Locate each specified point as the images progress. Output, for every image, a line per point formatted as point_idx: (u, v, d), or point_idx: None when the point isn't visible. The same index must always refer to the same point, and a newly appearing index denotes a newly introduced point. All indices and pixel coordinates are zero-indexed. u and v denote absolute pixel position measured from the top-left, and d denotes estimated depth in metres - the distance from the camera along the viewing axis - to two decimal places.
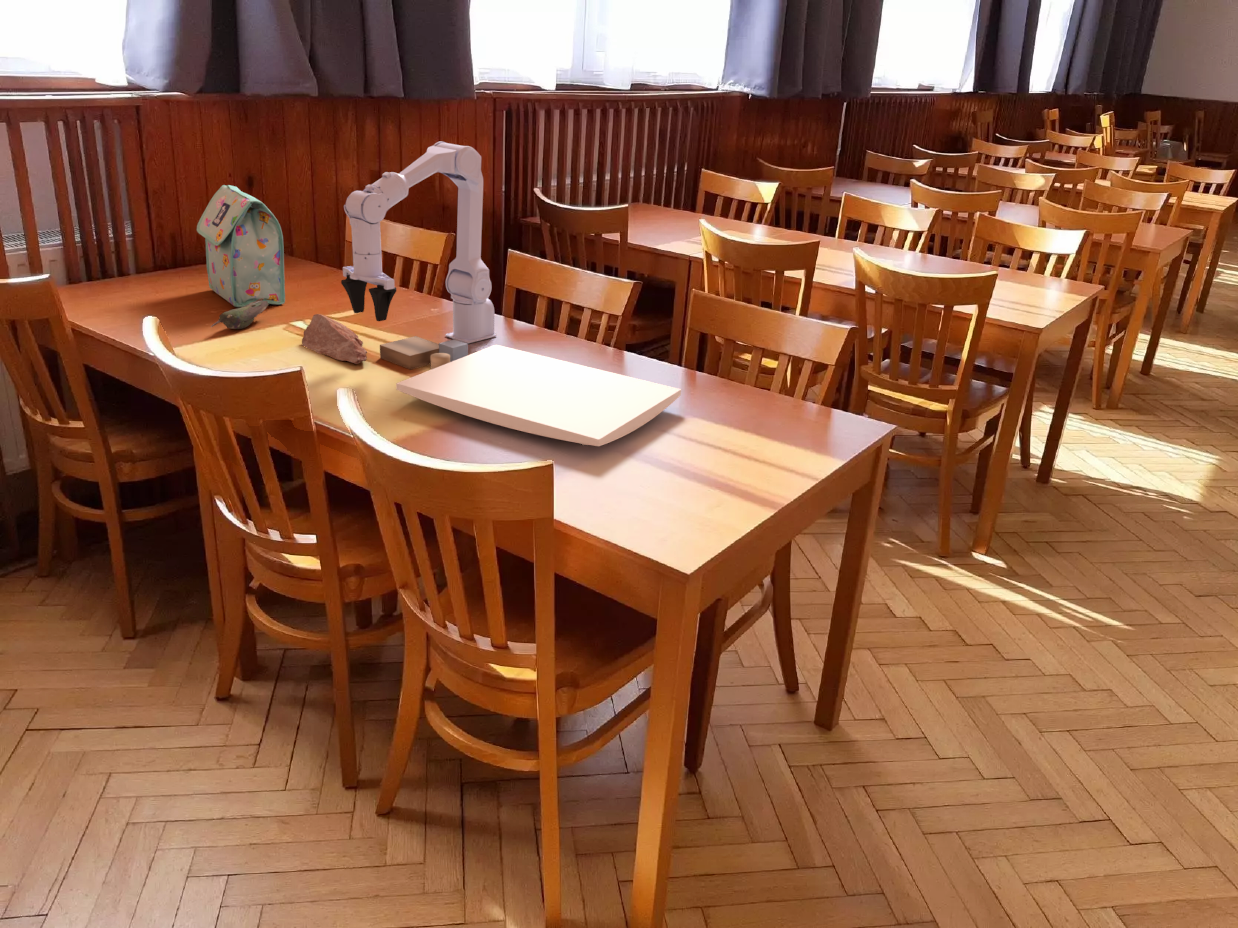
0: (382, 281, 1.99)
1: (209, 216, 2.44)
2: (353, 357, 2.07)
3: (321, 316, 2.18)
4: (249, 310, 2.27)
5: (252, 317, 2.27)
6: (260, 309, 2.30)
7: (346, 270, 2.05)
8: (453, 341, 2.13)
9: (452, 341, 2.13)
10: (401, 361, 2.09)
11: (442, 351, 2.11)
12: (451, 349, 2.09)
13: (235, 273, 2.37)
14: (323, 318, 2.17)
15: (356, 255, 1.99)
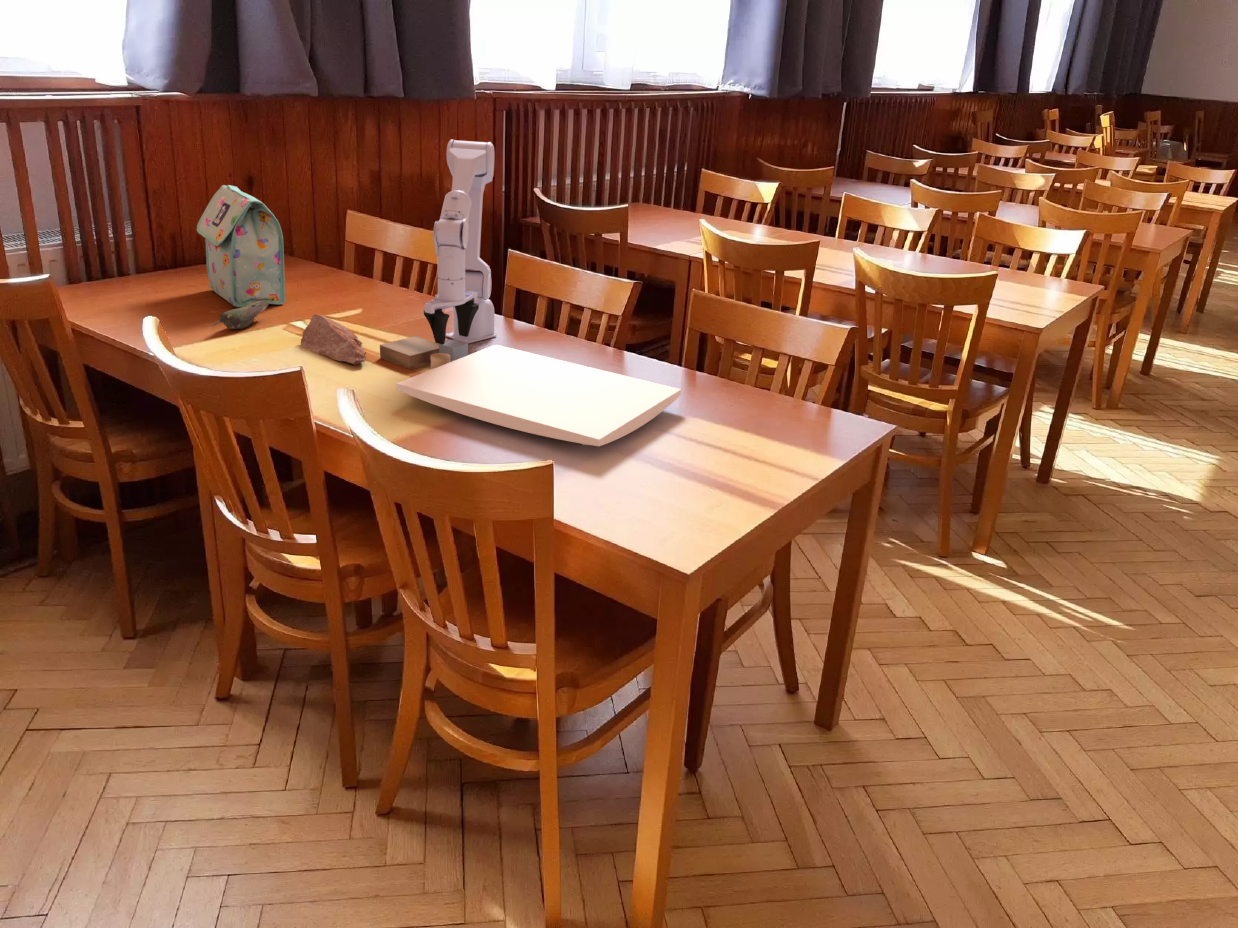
0: None
1: (209, 216, 2.44)
2: (351, 358, 2.07)
3: (320, 316, 2.18)
4: (249, 310, 2.27)
5: (252, 317, 2.27)
6: (260, 309, 2.30)
7: None
8: (453, 341, 2.13)
9: (452, 341, 2.13)
10: (401, 361, 2.09)
11: (442, 351, 2.11)
12: (451, 349, 2.09)
13: (235, 273, 2.37)
14: (322, 319, 2.17)
15: None
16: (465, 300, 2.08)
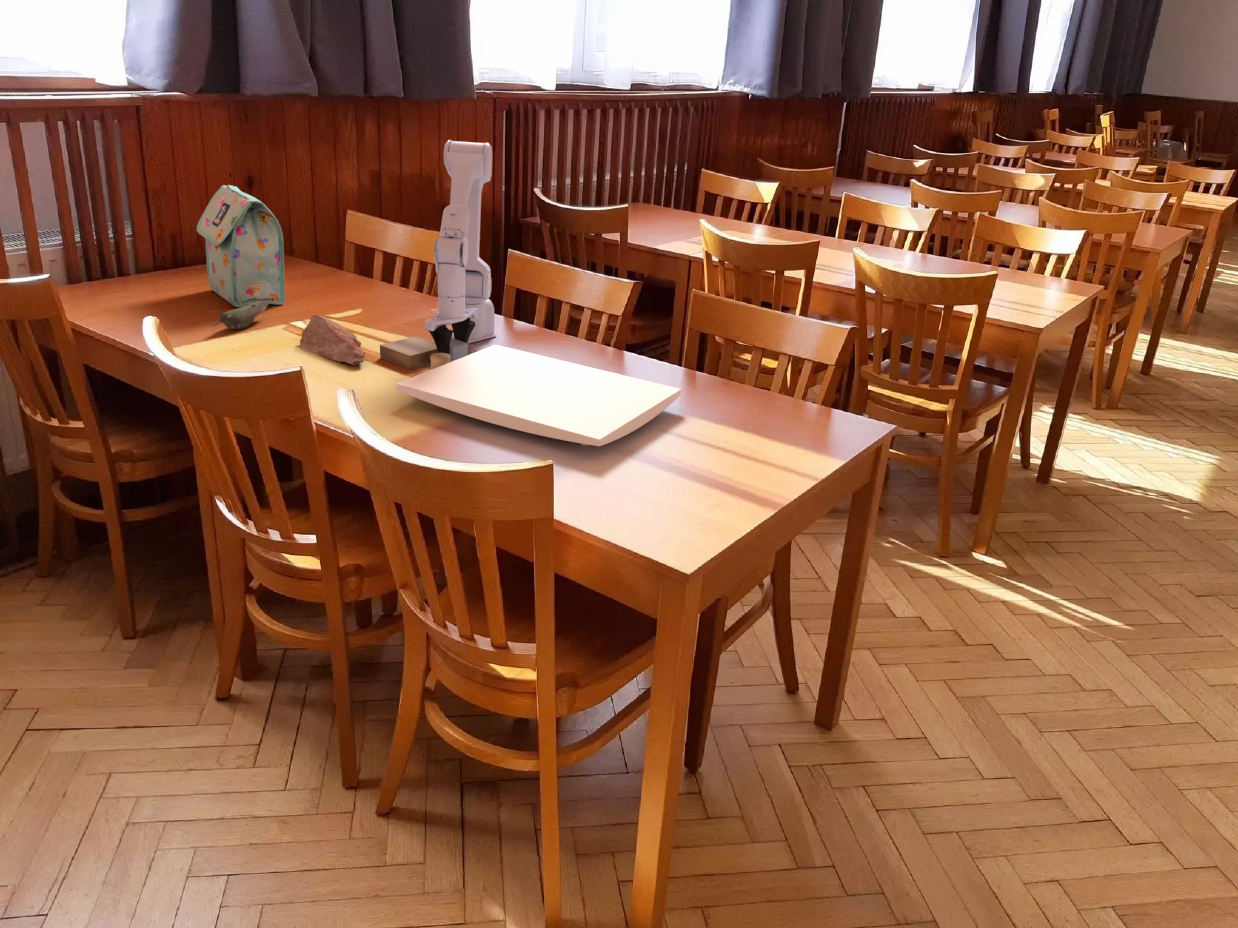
0: None
1: (209, 216, 2.44)
2: (350, 358, 2.07)
3: (319, 317, 2.17)
4: (249, 310, 2.27)
5: (252, 317, 2.27)
6: (260, 309, 2.30)
7: None
8: (453, 341, 2.13)
9: (452, 341, 2.13)
10: (401, 361, 2.09)
11: None
12: (451, 349, 2.09)
13: (235, 273, 2.37)
14: (321, 319, 2.17)
15: None
16: (465, 317, 2.09)
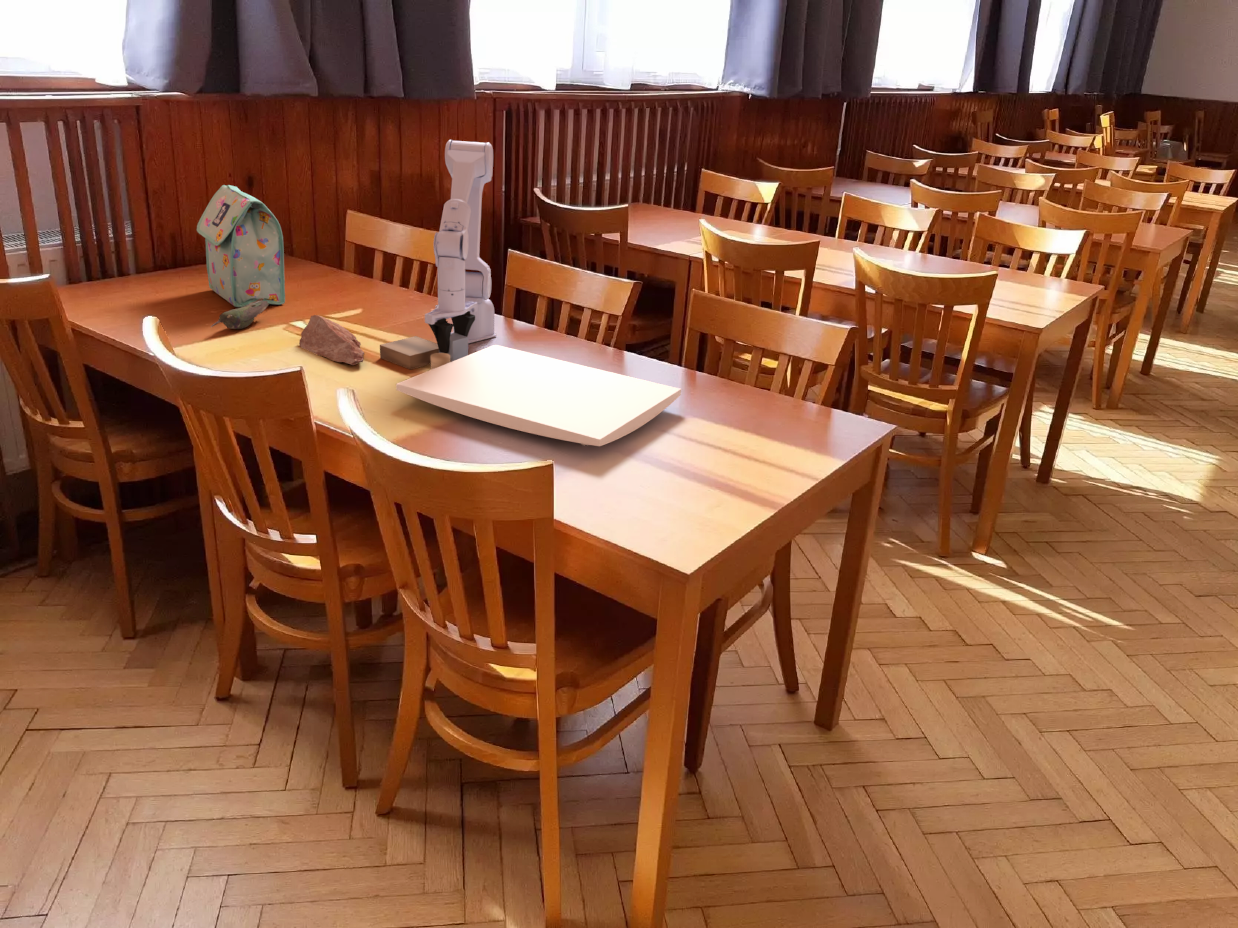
0: None
1: (209, 216, 2.44)
2: (350, 358, 2.06)
3: (319, 317, 2.17)
4: (249, 310, 2.27)
5: (252, 317, 2.27)
6: (260, 309, 2.30)
7: None
8: (453, 334, 2.13)
9: (452, 334, 2.13)
10: (401, 361, 2.09)
11: None
12: (451, 342, 2.09)
13: (235, 273, 2.37)
14: (321, 319, 2.16)
15: None
16: (465, 310, 2.09)
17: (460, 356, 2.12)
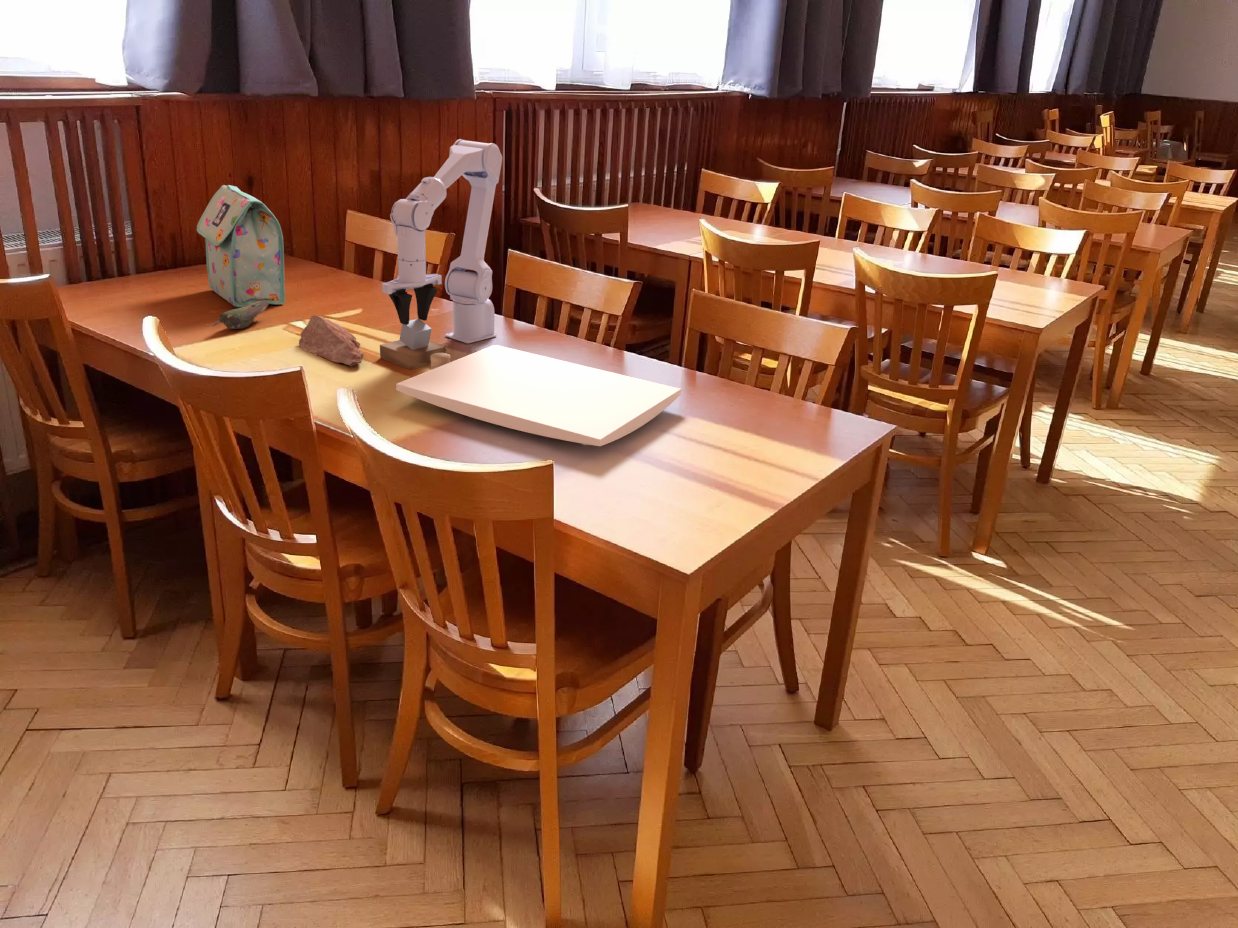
0: None
1: (209, 216, 2.44)
2: (348, 359, 2.06)
3: (318, 317, 2.17)
4: (249, 310, 2.27)
5: (252, 317, 2.27)
6: (260, 309, 2.30)
7: None
8: (417, 322, 2.11)
9: (416, 321, 2.11)
10: (401, 361, 2.09)
11: (405, 331, 2.10)
12: (414, 333, 2.08)
13: (235, 273, 2.37)
14: (320, 319, 2.16)
15: None
16: (425, 282, 2.06)
17: (420, 345, 2.11)
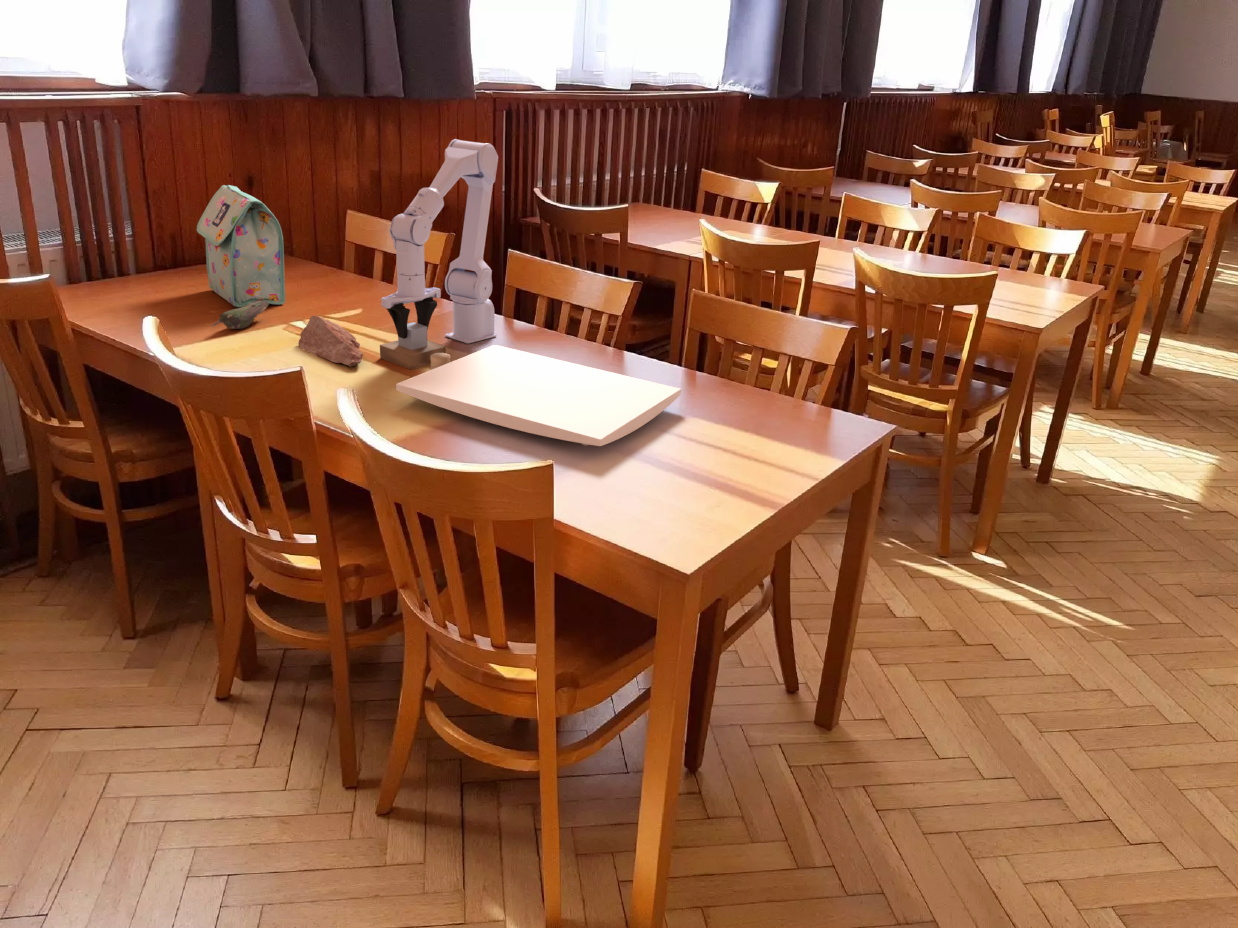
0: None
1: (209, 216, 2.44)
2: (347, 359, 2.06)
3: (318, 318, 2.17)
4: (249, 310, 2.27)
5: (252, 317, 2.27)
6: (260, 309, 2.30)
7: None
8: (412, 324, 2.12)
9: (411, 324, 2.12)
10: (401, 361, 2.09)
11: None
12: (410, 331, 2.09)
13: (235, 273, 2.37)
14: (320, 320, 2.16)
15: None
16: (424, 296, 2.08)
17: (419, 345, 2.11)
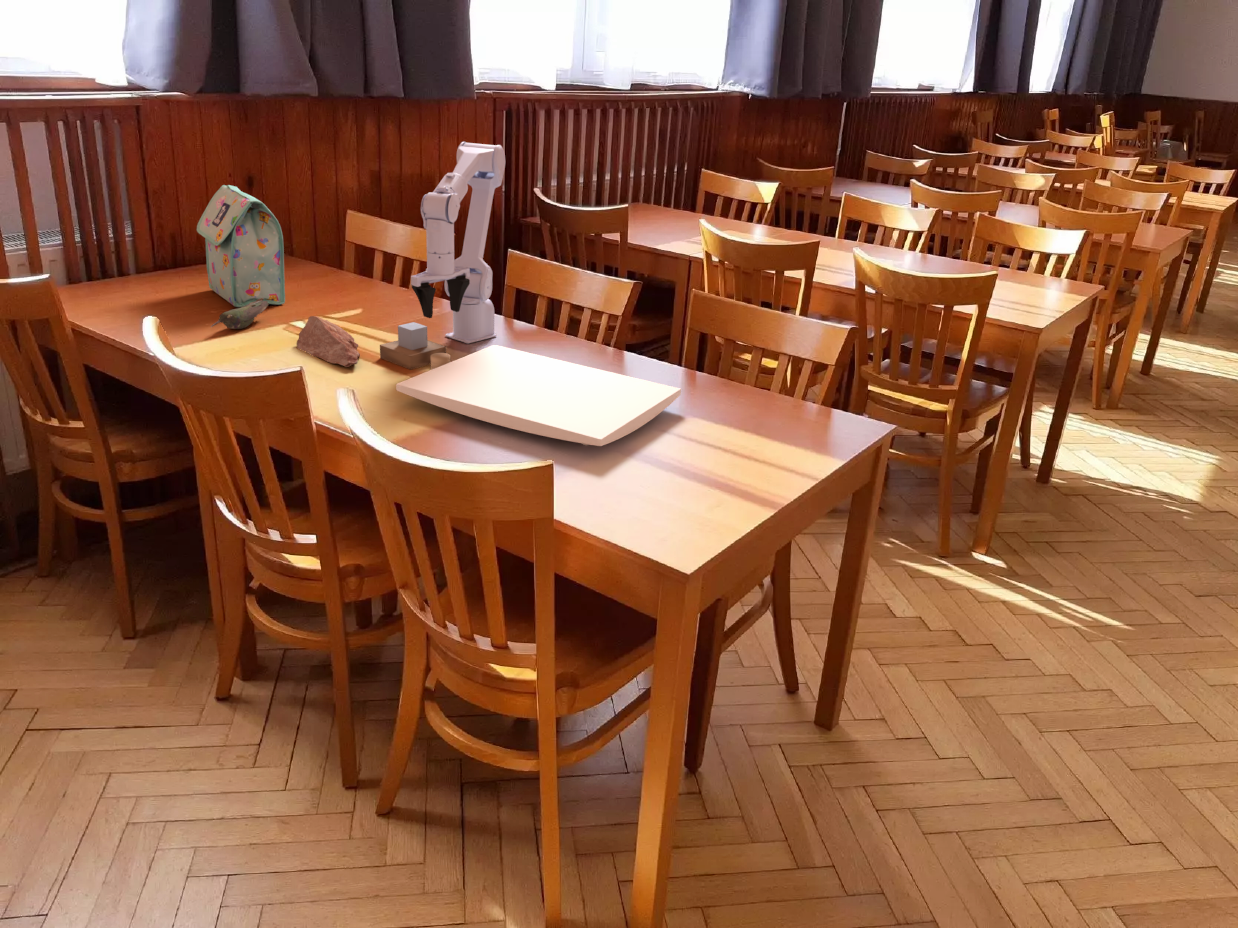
0: None
1: (209, 216, 2.44)
2: (344, 360, 2.05)
3: (316, 318, 2.16)
4: (249, 310, 2.27)
5: (252, 317, 2.27)
6: (260, 309, 2.30)
7: None
8: (412, 324, 2.12)
9: (411, 324, 2.12)
10: (401, 361, 2.09)
11: (401, 333, 2.11)
12: (410, 331, 2.09)
13: (235, 273, 2.37)
14: (318, 320, 2.16)
15: None
16: (454, 275, 2.08)
17: (419, 345, 2.11)
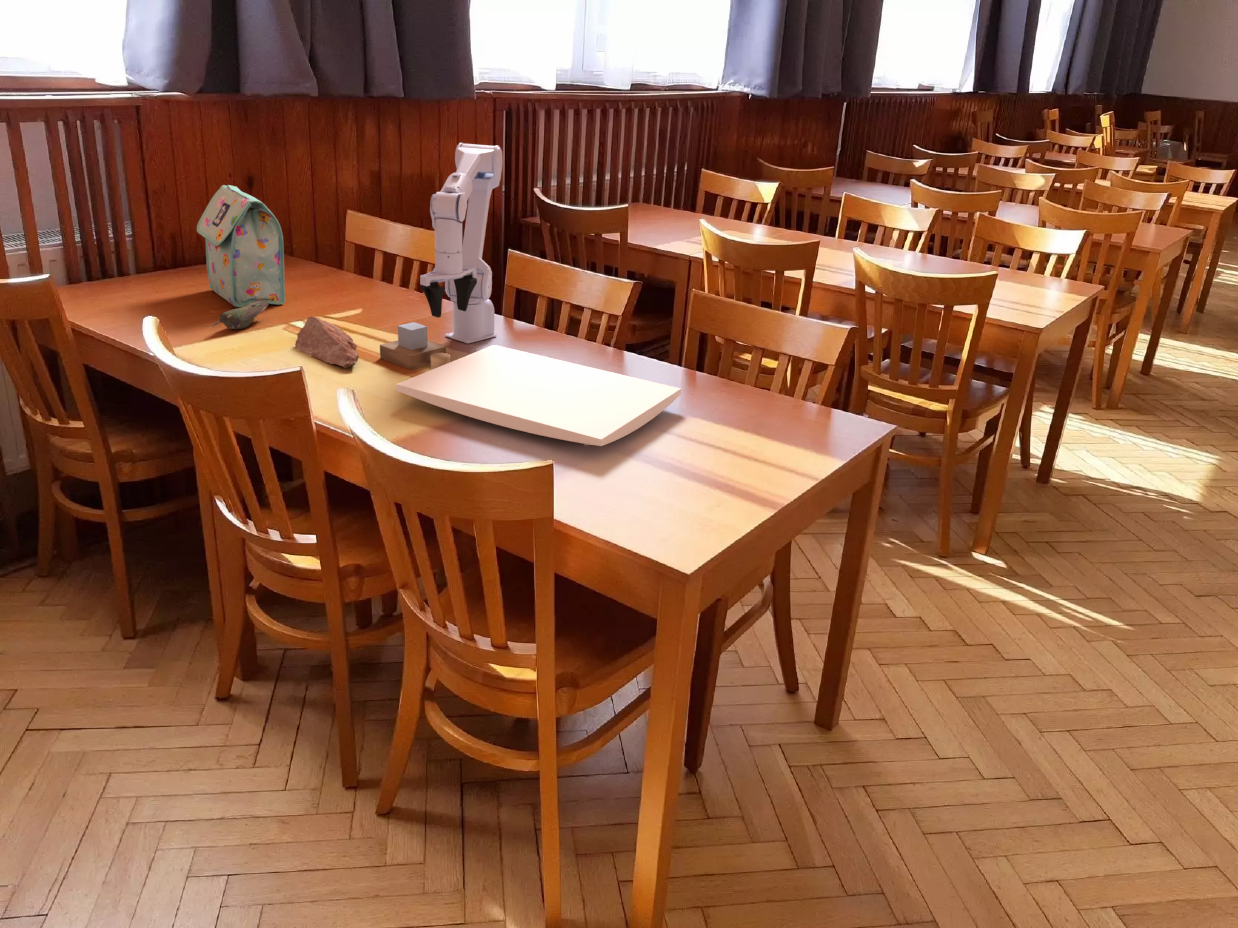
0: None
1: (209, 216, 2.44)
2: (342, 361, 2.05)
3: (315, 319, 2.16)
4: (249, 310, 2.27)
5: (252, 317, 2.27)
6: (260, 309, 2.30)
7: None
8: (412, 324, 2.12)
9: (411, 324, 2.12)
10: (401, 361, 2.09)
11: (401, 333, 2.11)
12: (410, 331, 2.09)
13: (235, 273, 2.37)
14: (317, 321, 2.15)
15: None
16: (462, 274, 2.09)
17: (419, 345, 2.11)
